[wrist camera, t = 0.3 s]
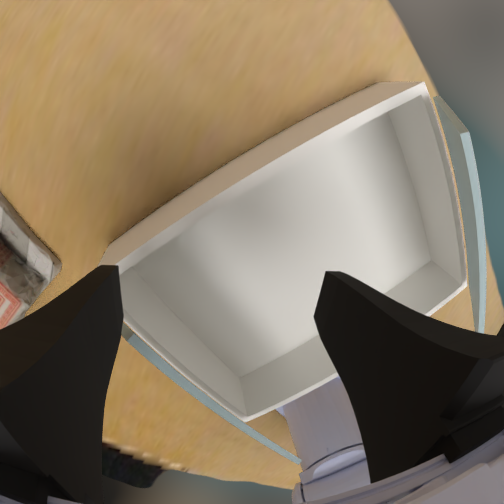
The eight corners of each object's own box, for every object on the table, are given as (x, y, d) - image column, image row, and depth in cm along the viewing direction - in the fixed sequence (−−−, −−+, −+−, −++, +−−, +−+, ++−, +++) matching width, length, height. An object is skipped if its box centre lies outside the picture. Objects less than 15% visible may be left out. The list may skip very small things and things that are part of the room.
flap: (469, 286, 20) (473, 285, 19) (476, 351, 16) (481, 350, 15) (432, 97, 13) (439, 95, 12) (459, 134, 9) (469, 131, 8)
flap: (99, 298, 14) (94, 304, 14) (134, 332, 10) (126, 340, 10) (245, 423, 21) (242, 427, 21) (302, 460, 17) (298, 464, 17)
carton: (432, 258, 25) (467, 286, 21) (236, 378, 27) (245, 422, 22) (377, 82, 17) (424, 81, 13) (108, 244, 19) (88, 284, 15)
